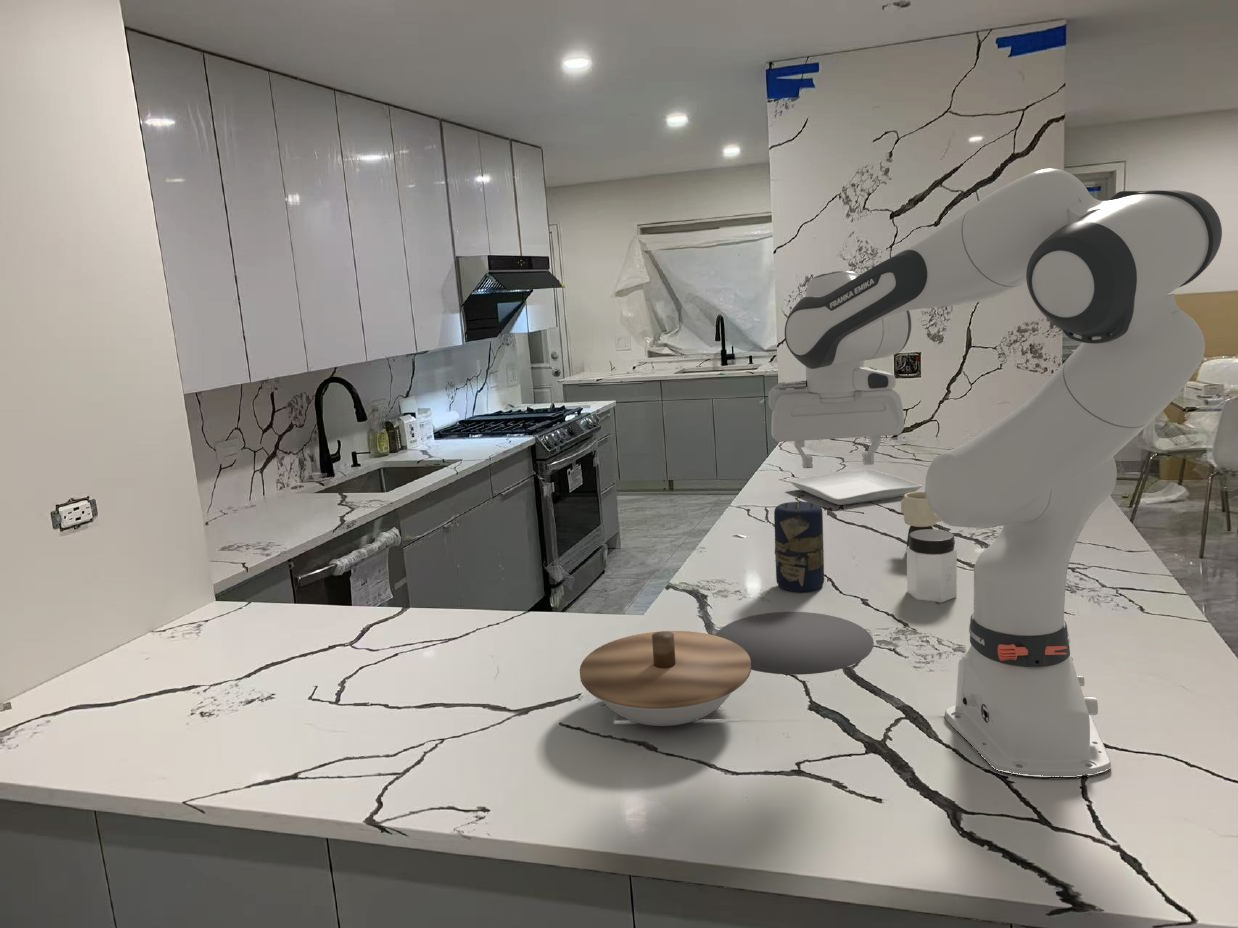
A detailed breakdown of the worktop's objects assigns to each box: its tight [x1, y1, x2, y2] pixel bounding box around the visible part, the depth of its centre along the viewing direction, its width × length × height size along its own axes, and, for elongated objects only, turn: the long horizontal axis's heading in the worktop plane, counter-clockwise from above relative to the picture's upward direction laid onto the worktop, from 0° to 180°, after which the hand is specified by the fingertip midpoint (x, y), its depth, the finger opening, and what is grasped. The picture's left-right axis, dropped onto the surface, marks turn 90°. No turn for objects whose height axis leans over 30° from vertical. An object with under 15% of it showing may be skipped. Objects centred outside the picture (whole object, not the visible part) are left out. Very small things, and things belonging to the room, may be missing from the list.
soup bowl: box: [591, 691, 735, 727], centre depth 130 cm, size 24×24×7 cm
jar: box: [906, 528, 958, 604], centre depth 168 cm, size 9×8×12 cm
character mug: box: [900, 491, 942, 551], centre depth 194 cm, size 11×7×13 cm, turn 30°
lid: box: [579, 630, 752, 709], centre depth 129 cm, size 25×25×5 cm
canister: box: [773, 500, 825, 593], centre depth 177 cm, size 10×10×18 cm
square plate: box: [788, 468, 923, 506], centre depth 252 cm, size 27×27×4 cm
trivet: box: [714, 611, 874, 675], centre depth 152 cm, size 27×27×1 cm
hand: (837, 466), depth 140 cm, fingers open, 8 cm apart
